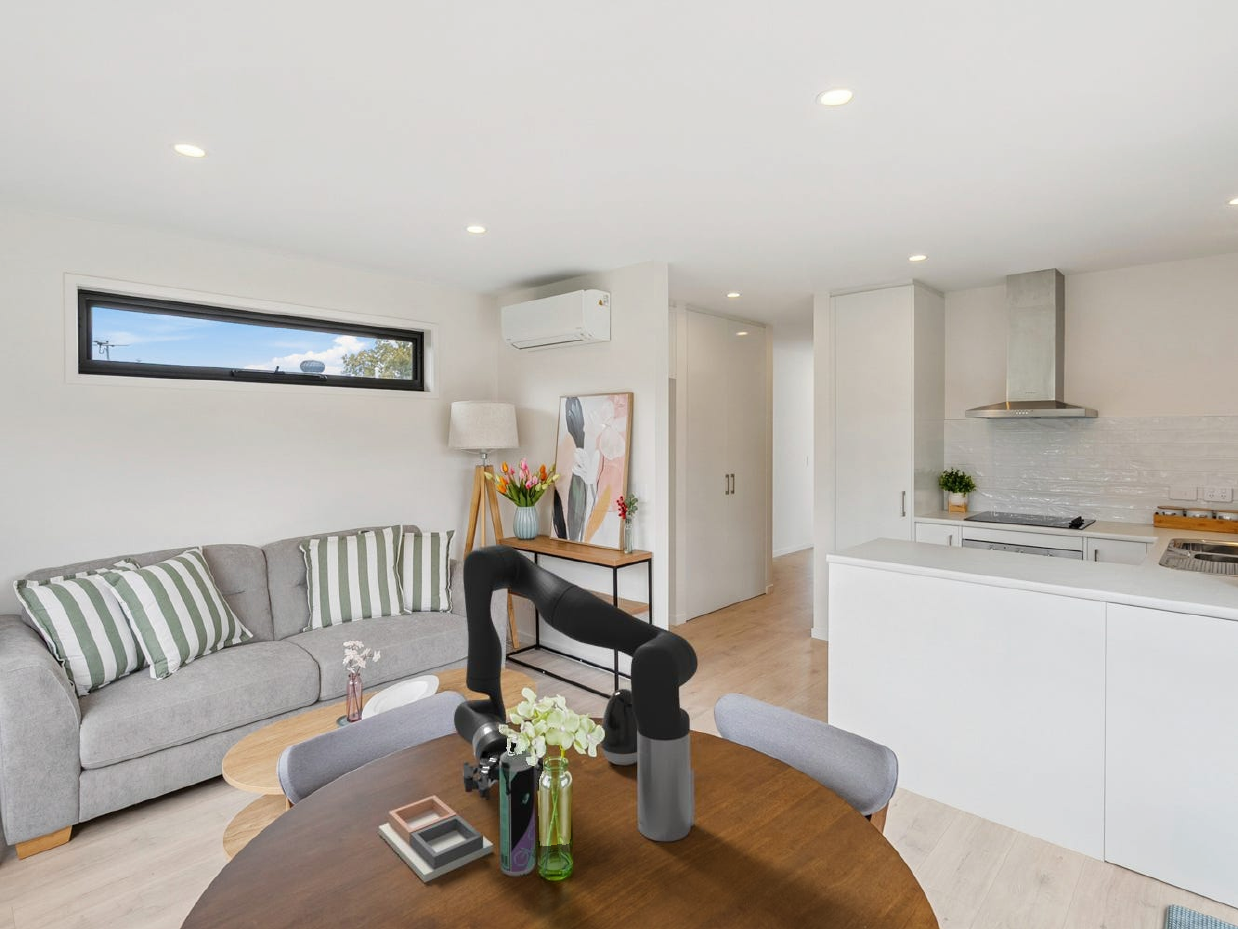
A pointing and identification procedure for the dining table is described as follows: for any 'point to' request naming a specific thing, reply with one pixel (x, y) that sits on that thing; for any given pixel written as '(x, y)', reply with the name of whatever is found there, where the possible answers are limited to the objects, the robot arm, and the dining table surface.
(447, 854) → the board
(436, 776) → the dining table surface
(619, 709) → the black egg shaped dome
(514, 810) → the spray can
